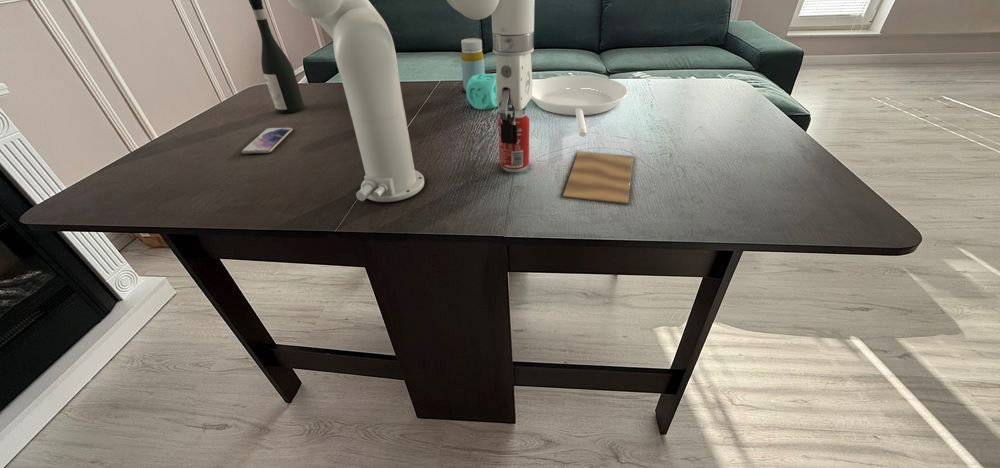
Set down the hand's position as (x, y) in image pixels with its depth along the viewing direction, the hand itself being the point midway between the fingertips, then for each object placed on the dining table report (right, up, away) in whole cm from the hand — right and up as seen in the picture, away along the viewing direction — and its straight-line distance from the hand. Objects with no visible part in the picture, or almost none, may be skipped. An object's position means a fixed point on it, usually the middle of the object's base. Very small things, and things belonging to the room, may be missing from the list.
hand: (513, 135), depth 87 cm
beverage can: (0, -6, +4) cm, 7 cm away
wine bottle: (-66, +17, +41) cm, 79 cm away
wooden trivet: (+18, -8, 0) cm, 20 cm away
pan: (+18, +13, +30) cm, 38 cm away
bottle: (-11, +26, +50) cm, 57 cm away
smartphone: (-62, +3, +21) cm, 65 cm away
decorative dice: (-7, +18, +38) cm, 42 cm away
